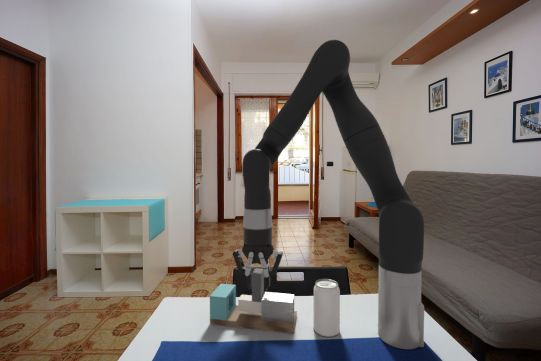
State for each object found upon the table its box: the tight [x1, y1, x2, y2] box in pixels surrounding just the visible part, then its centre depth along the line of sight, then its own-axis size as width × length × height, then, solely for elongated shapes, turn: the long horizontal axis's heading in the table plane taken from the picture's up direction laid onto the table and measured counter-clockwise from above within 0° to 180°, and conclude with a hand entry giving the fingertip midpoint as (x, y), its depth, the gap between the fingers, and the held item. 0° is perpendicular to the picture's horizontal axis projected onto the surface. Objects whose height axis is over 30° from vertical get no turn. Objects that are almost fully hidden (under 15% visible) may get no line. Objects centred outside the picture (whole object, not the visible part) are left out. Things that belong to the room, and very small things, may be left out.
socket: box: [209, 283, 237, 320], centre depth 75 cm, size 4×8×6 cm, turn 169°
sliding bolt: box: [237, 268, 265, 313], centre depth 72 cm, size 14×4×10 cm, turn 79°
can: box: [313, 278, 341, 338], centre depth 68 cm, size 6×6×12 cm
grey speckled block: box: [261, 291, 295, 324], centre depth 72 cm, size 8×5×5 cm, turn 79°
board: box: [209, 304, 298, 334], centre depth 73 cm, size 22×8×2 cm, turn 79°
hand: (257, 288), depth 73 cm, fingers open, 3 cm apart
